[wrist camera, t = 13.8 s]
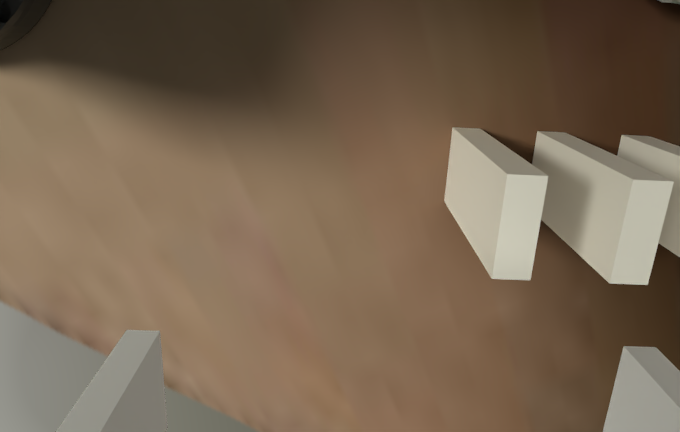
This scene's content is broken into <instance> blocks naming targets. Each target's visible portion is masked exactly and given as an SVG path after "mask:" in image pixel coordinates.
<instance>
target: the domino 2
mask: <svg viewBox="0 0 680 432" xmlns="http://www.w3.org/2000/svg"><path fill="white" fill-rule="evenodd" d="M532 165H533V166H535V167H536V168H538V169H539V170H541V171H542V172H543V173H545V174H546V175H548V182H547V188H546V194H545V199H544V205H543V211H542V216H541V220H542V221H543V222H544V223H545V224H546V225H547V226H548V227H550V228H551V229H552V230H553V231H554V232H555V233H556V234H557V235H558V236H559V237H560V238H561V239H562V240H563V241H565V242H566V243H567V244H568V245H569V246H570V247H571V248H572V249H573V250H574V251H575V252H576V253H577V254H578V255H580V256H581V257H582V258H583V259H584V260H585V261H586V262H587V263H588V264H589V265H590V266H591V267H592V268H593V269H595V270H596V271H597V272H598V273H599V274H600V275H601V276H602V277H603V278H604V279H605V280H606V281H607V282H608V283H610V284H635V285H648V282H649V278H650V274H651V270H652V266H653V262H654V258H655V254H656V250H657V246H658V242H659V238H660V235H661V231H662V227H663V223H664V219H665V215H666V211H667V207H668V203H669V199H670V195H671V191H672V187H673V183H674V181H672V180H670V179H667V178H665V177H663V176H661V175H658V174H656V173H654V172H652V171H650V170H647V169H645V168H643V167H641V166H639V165H636V164H634V163H632V162H630V161H627V160H625V159H623V158H621V157H619V156H616V155H614V154H612V153H610V152H607V151H605V150H603V149H601V148H599V147H596V146H594V145H592V144H590V143H587V142H585V141H583V140H581V139H579V138H576V137H574V136H572V135H570V134H568V133H565V132H546V131H537V136H536V142H535V148H534V155H533V161H532Z"/></svg>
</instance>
